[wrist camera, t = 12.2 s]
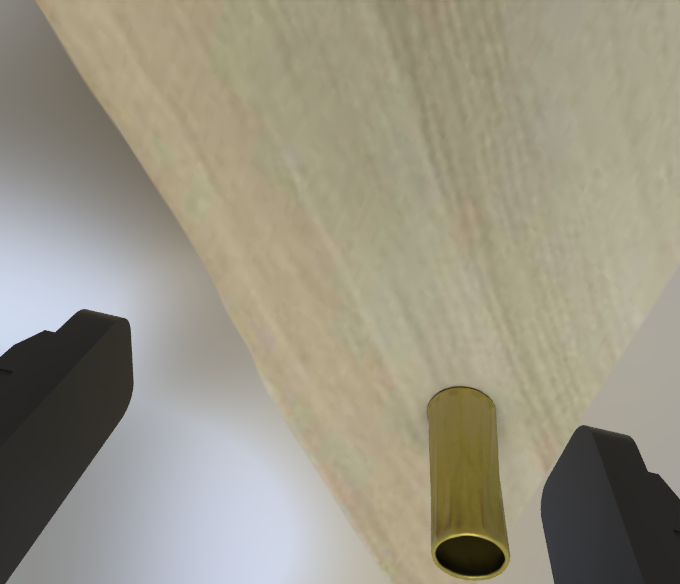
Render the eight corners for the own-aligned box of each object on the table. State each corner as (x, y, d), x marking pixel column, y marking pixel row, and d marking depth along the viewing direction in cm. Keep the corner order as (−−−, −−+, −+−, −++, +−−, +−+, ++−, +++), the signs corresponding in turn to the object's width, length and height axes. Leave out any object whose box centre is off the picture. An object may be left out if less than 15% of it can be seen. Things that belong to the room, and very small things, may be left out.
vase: (481, 443, 50) (497, 593, 38) (418, 426, 50) (413, 570, 38) (506, 396, 47) (531, 544, 34) (438, 378, 47) (440, 519, 35)
